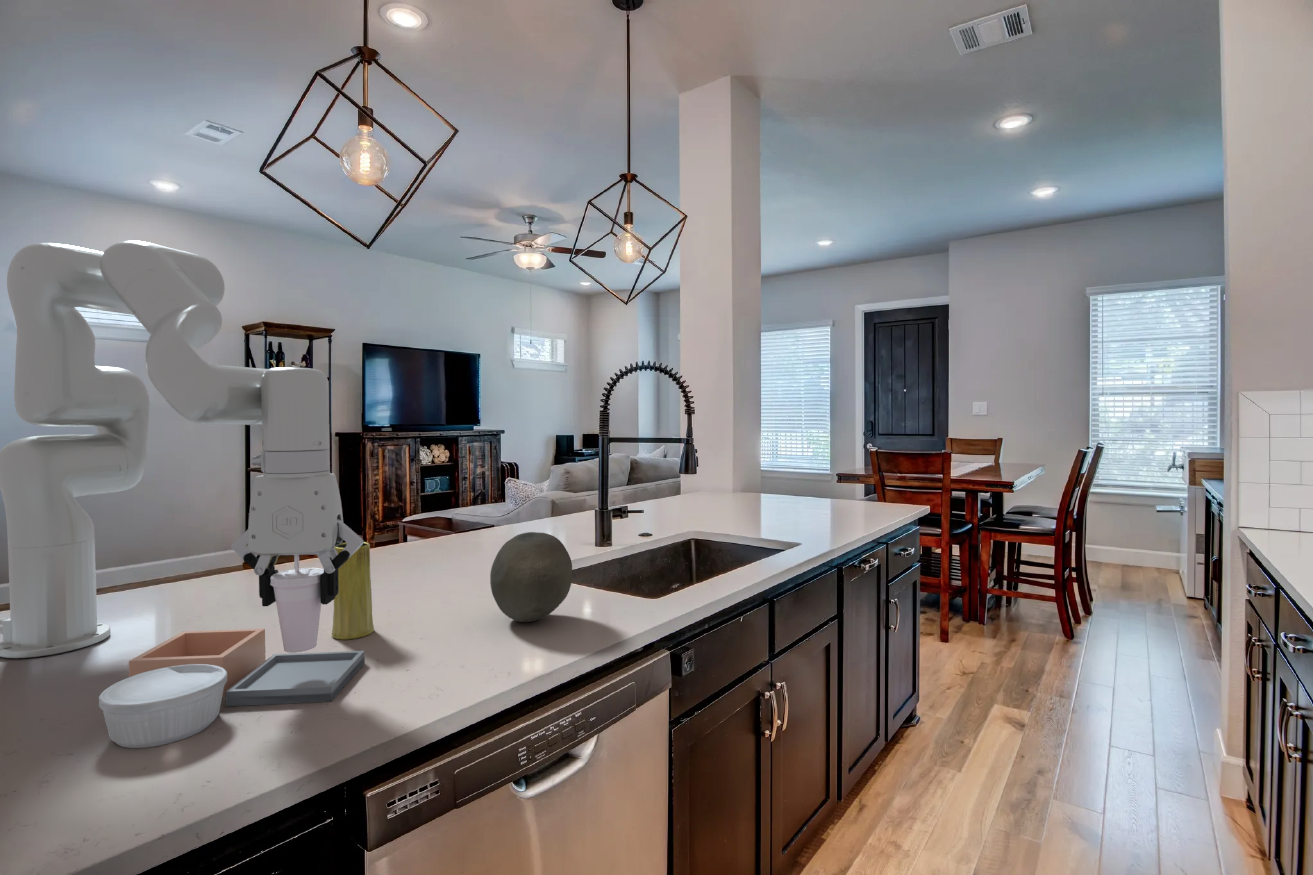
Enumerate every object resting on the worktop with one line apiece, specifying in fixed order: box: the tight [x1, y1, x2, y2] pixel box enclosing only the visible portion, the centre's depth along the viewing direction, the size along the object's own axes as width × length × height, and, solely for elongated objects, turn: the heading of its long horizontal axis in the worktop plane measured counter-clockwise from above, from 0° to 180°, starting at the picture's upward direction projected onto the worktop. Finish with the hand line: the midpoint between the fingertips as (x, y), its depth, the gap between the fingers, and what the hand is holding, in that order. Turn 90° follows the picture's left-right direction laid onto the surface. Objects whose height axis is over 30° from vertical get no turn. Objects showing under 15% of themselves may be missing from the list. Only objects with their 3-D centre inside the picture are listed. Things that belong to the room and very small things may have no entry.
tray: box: [225, 650, 366, 707], centre depth 83 cm, size 12×12×2 cm
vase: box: [331, 541, 375, 641], centre depth 102 cm, size 6×6×14 cm
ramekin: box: [98, 664, 227, 749], centre depth 71 cm, size 11×11×5 cm
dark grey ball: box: [489, 531, 573, 623], centre depth 108 cm, size 14×14×15 cm
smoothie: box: [270, 555, 324, 654], centre depth 83 cm, size 6×6×14 cm
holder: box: [128, 628, 267, 698], centre depth 83 cm, size 11×11×5 cm
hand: (299, 601), depth 83 cm, fingers closed on smoothie, 6 cm apart
